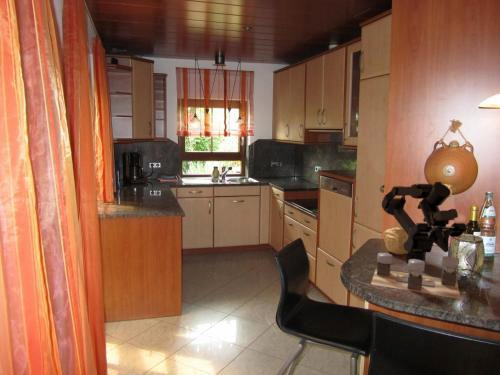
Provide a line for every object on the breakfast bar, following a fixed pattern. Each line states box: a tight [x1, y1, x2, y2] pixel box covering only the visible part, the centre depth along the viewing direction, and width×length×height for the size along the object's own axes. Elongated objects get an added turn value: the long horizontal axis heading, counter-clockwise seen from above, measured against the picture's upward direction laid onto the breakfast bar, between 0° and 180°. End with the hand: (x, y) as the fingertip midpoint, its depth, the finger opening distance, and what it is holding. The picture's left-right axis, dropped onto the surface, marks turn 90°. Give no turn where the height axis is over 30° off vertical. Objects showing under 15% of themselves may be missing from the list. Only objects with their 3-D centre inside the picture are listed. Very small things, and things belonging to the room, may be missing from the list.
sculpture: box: [383, 227, 408, 255], centre depth 181 cm, size 12×12×11 cm
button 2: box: [441, 255, 459, 274], centre depth 143 cm, size 5×5×5 cm
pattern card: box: [396, 274, 434, 287], centre depth 145 cm, size 6×12×1 cm, turn 68°
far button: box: [407, 259, 426, 278], centre depth 139 cm, size 5×5×5 cm
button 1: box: [376, 252, 393, 265], centre depth 151 cm, size 5×5×5 cm
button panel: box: [370, 262, 462, 300], centre depth 144 cm, size 16×27×6 cm, turn 68°
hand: (446, 251), depth 145 cm, fingers closed
